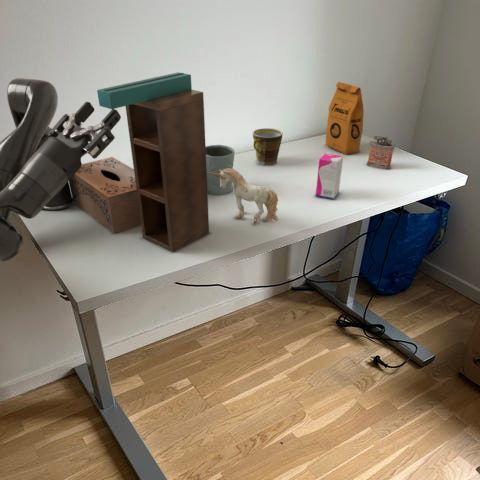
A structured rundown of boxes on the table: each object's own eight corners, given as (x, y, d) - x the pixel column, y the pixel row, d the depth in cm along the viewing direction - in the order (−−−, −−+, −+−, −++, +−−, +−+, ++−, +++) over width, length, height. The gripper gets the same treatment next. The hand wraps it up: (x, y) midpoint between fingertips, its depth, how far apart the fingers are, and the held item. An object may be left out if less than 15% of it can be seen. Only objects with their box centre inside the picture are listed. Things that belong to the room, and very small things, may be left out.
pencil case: (111, 109, 97) (109, 92, 95) (99, 106, 99) (96, 89, 97) (191, 89, 110) (190, 73, 108) (179, 86, 112) (178, 71, 110)
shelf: (172, 252, 121) (158, 103, 100) (142, 238, 127) (123, 94, 106) (209, 233, 129) (203, 92, 108) (179, 221, 135) (168, 84, 114)
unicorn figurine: (216, 208, 141) (214, 162, 133) (283, 217, 137) (285, 169, 129) (208, 219, 135) (206, 172, 127) (277, 228, 131) (280, 180, 123)
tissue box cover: (161, 218, 136) (157, 183, 130) (114, 233, 129) (108, 197, 123) (117, 189, 152) (112, 156, 146) (73, 201, 145) (65, 167, 139)
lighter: (391, 167, 167) (397, 137, 161) (388, 170, 165) (394, 139, 159) (369, 162, 170) (373, 133, 164) (365, 165, 168) (370, 135, 162)
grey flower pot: (206, 181, 157) (205, 143, 149) (237, 184, 155) (237, 145, 148) (198, 194, 149) (196, 154, 142) (230, 197, 147) (230, 157, 140)
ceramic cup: (262, 155, 176) (263, 126, 170) (286, 161, 172) (288, 131, 165) (241, 165, 168) (241, 136, 162) (266, 172, 163) (267, 141, 157)
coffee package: (342, 156, 175) (351, 90, 162) (321, 146, 184) (327, 82, 170) (364, 152, 179) (374, 86, 166) (341, 142, 188) (349, 79, 174)
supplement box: (339, 192, 150) (344, 155, 143) (333, 200, 146) (338, 161, 139) (320, 189, 152) (324, 152, 145) (314, 196, 148) (318, 158, 141)
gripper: (43, 173, 101) (93, 117, 104) (84, 191, 93) (136, 130, 97) (17, 145, 95) (71, 87, 98) (59, 163, 87) (116, 99, 91)
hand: (104, 108), depth 97 cm, fingers open, 8 cm apart
